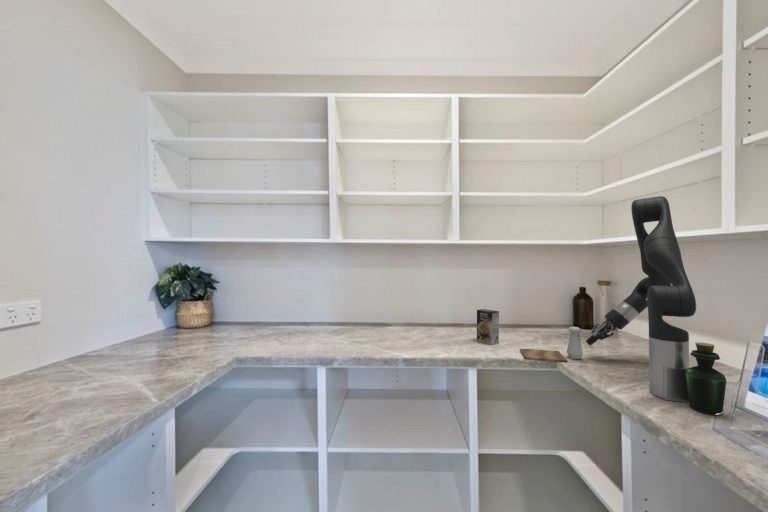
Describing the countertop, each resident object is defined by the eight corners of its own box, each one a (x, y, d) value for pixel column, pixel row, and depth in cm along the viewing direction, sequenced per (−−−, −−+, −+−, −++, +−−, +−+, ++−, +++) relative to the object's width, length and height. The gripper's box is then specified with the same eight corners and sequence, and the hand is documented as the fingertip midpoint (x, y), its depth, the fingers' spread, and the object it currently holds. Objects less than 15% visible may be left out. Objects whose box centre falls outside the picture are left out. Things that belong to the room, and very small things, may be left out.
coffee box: (476, 341, 165) (476, 309, 165) (484, 339, 169) (483, 308, 169) (491, 345, 158) (491, 312, 158) (499, 343, 162) (499, 310, 162)
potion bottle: (681, 408, 90) (680, 343, 91) (689, 401, 95) (689, 339, 95) (723, 420, 84) (722, 349, 84) (730, 411, 88) (729, 345, 89)
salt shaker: (574, 360, 134) (574, 328, 134) (563, 356, 139) (563, 326, 139) (586, 359, 135) (585, 328, 135) (574, 355, 141) (574, 325, 141)
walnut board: (558, 352, 145) (558, 351, 145) (567, 362, 132) (567, 360, 132) (519, 350, 149) (519, 348, 149) (524, 359, 136) (524, 357, 136)
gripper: (607, 306, 140) (575, 333, 143) (620, 310, 127) (585, 340, 130) (621, 319, 139) (589, 346, 142) (636, 325, 126) (601, 354, 129)
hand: (587, 343), depth 136 cm, fingers closed
